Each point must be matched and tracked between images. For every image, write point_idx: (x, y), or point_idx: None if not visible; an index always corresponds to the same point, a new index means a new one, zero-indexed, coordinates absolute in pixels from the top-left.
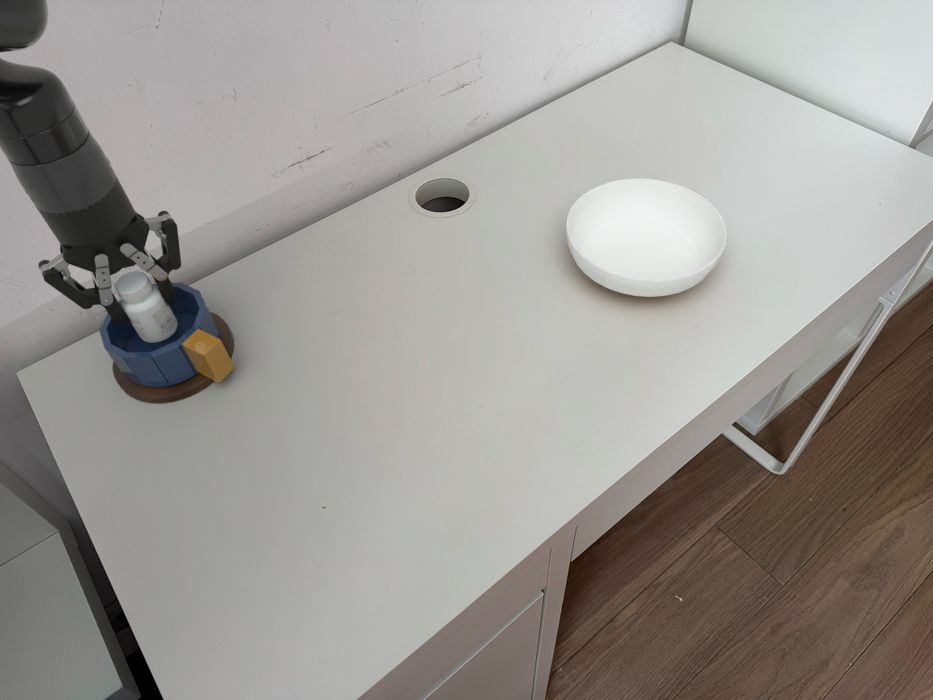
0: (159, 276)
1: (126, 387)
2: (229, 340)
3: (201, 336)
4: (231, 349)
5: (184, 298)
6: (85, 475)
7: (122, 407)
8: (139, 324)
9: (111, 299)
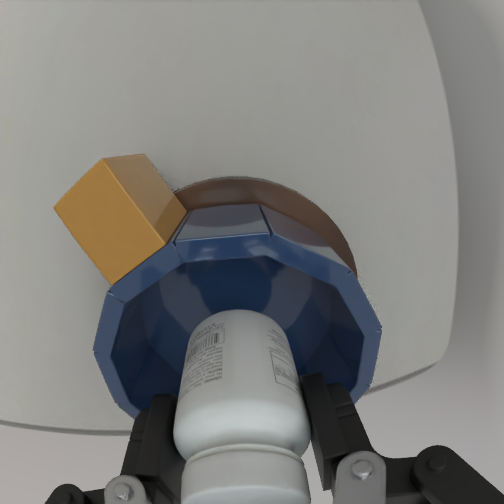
0: (130, 496)
1: (345, 251)
2: None
3: (101, 247)
4: None
5: None
6: (432, 102)
7: (359, 217)
8: (276, 363)
9: (342, 473)
